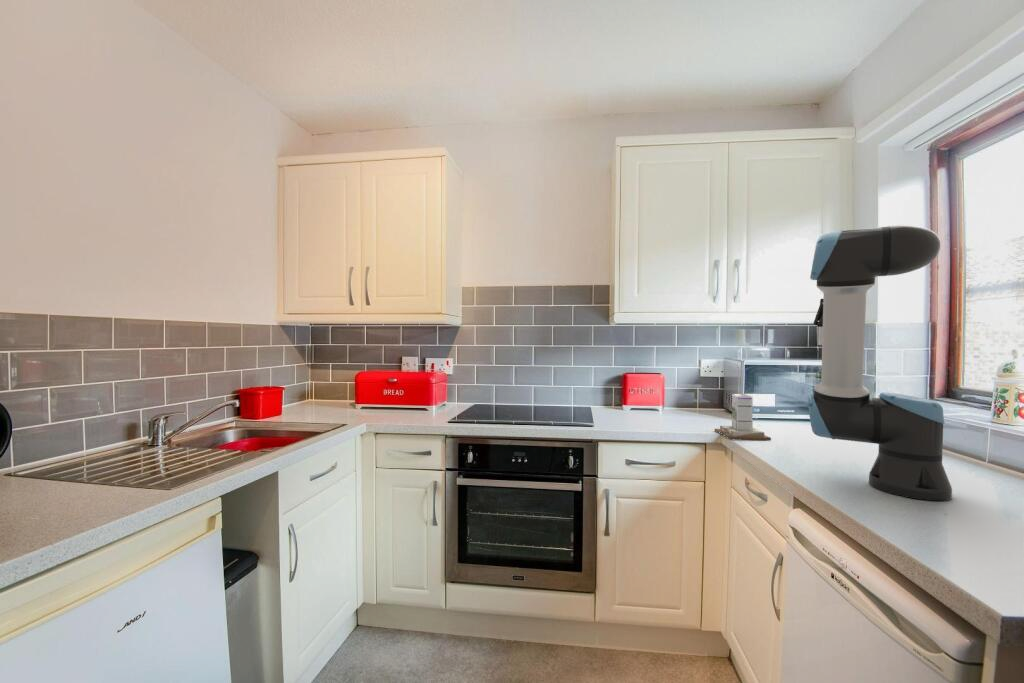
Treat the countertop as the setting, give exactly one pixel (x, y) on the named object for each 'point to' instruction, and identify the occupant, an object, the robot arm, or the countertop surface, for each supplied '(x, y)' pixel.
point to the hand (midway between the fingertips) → (836, 345)
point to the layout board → (742, 434)
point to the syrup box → (742, 412)
